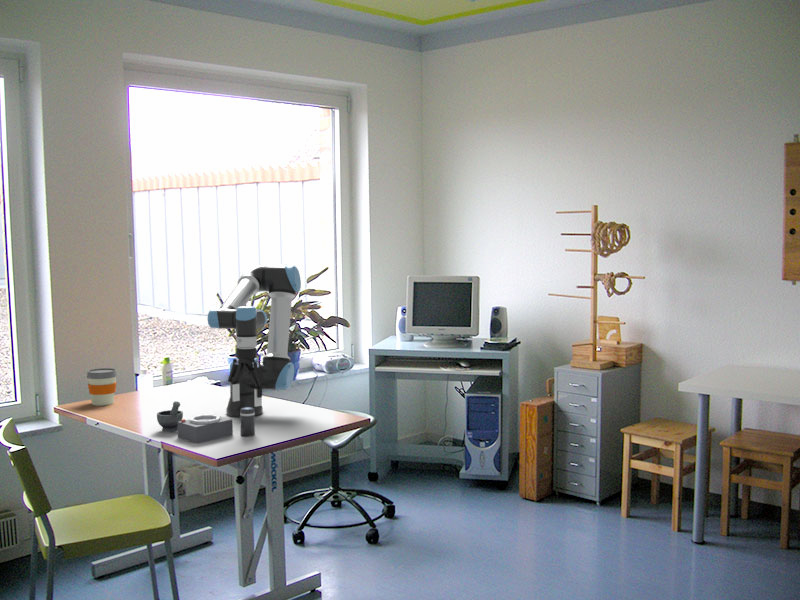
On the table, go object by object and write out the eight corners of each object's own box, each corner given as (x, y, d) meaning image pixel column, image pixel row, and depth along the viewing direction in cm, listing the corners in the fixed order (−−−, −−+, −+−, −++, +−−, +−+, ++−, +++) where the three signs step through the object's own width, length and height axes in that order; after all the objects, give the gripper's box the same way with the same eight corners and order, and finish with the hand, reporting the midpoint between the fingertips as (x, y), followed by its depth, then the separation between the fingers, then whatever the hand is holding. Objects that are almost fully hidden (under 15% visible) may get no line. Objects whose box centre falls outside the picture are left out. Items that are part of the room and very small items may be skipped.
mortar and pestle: (152, 430, 297) (152, 399, 296) (174, 426, 304) (173, 396, 303) (168, 435, 289) (167, 404, 288) (189, 431, 296) (189, 400, 295)
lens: (249, 432, 294) (248, 406, 294) (257, 434, 291) (257, 408, 290) (237, 435, 290) (237, 408, 290) (246, 437, 287) (245, 410, 286)
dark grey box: (214, 429, 298) (213, 411, 298) (232, 435, 290) (232, 416, 290) (177, 437, 286) (177, 419, 286) (196, 443, 278) (195, 424, 278)
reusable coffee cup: (122, 400, 351) (121, 368, 350) (111, 406, 339) (110, 373, 337) (94, 400, 351) (93, 368, 350) (82, 406, 339) (81, 372, 338)
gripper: (218, 345, 293) (219, 400, 295) (259, 351, 277) (259, 409, 278) (234, 343, 299) (235, 397, 300) (275, 349, 282) (275, 406, 284)
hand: (246, 403), depth 289 cm, fingers open, 13 cm apart
